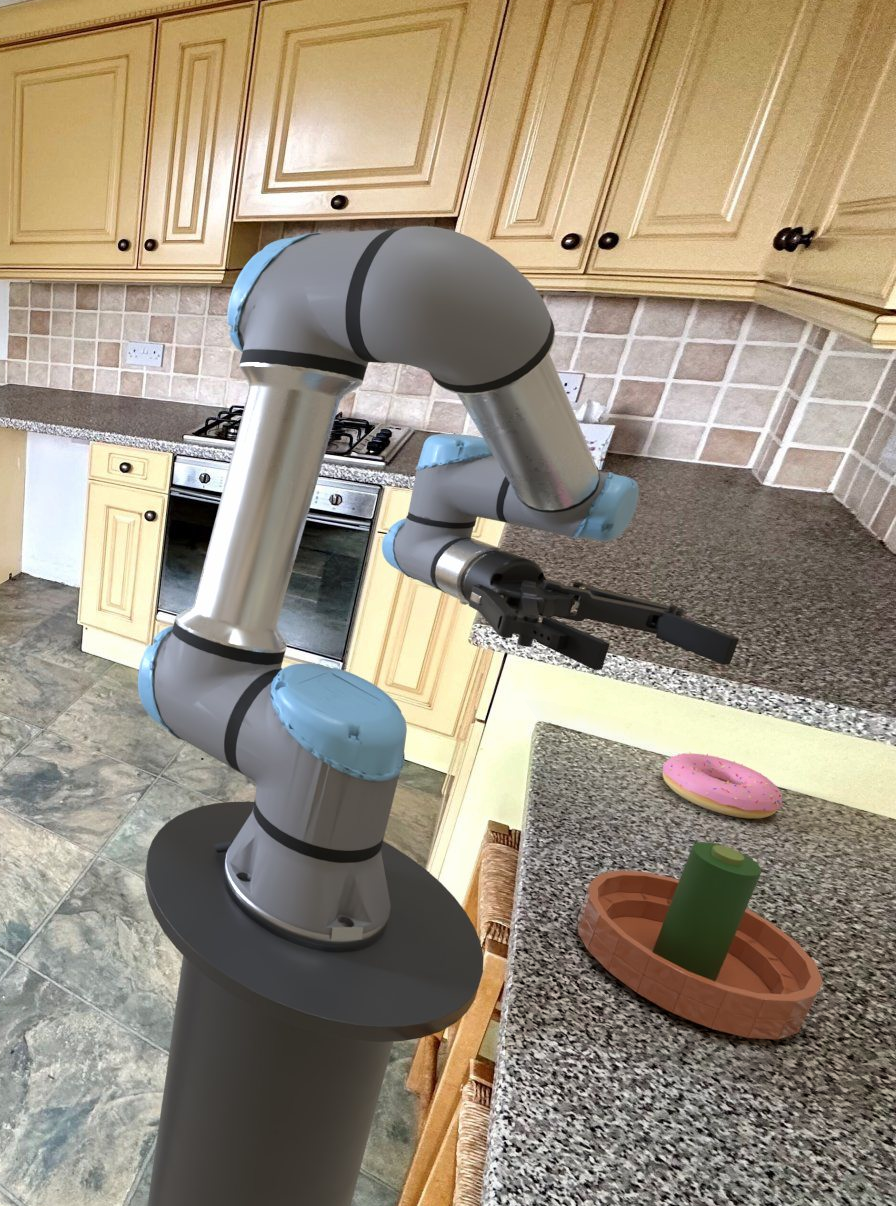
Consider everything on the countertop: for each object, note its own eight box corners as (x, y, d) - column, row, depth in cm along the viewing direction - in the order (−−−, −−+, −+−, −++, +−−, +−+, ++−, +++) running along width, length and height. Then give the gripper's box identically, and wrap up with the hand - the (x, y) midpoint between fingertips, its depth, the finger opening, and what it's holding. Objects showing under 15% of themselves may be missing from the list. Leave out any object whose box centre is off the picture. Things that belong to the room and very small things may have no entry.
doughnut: (656, 798, 98) (666, 770, 97) (658, 763, 106) (668, 737, 104) (779, 837, 91) (792, 807, 90) (772, 797, 99) (784, 768, 97)
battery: (653, 967, 72) (697, 854, 68) (650, 939, 75) (692, 829, 71) (719, 992, 69) (768, 877, 65) (713, 962, 72) (759, 850, 68)
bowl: (574, 980, 71) (589, 937, 69) (576, 888, 82) (589, 849, 81) (818, 1082, 62) (842, 1034, 60) (781, 962, 73) (800, 920, 72)
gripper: (575, 605, 95) (769, 685, 75) (387, 611, 93) (536, 695, 73) (592, 547, 93) (797, 613, 73) (399, 551, 90) (557, 621, 70)
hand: (667, 654), depth 73 cm, fingers open, 13 cm apart
